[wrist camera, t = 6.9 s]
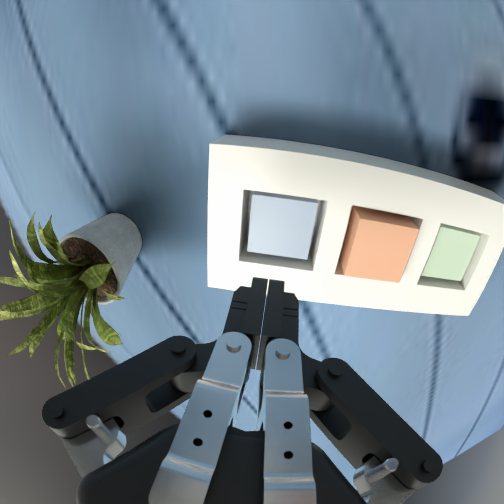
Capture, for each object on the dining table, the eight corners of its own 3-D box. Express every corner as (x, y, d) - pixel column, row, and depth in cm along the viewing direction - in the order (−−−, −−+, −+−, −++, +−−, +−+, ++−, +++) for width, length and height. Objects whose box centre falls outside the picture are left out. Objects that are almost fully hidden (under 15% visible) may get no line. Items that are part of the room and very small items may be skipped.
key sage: (412, 259, 22) (421, 275, 20) (428, 213, 20) (440, 226, 18) (450, 265, 22) (460, 281, 20) (467, 223, 20) (480, 236, 17)
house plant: (229, 240, 25) (161, 412, 11) (158, 316, 32) (98, 439, 18) (106, 141, 22) (-52, 225, 8) (64, 241, 28) (-29, 336, 14)
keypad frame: (219, 258, 26) (207, 286, 23) (224, 134, 20) (209, 143, 17) (453, 289, 24) (468, 315, 21) (492, 191, 19) (517, 209, 15)
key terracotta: (339, 257, 21) (343, 275, 19) (353, 204, 19) (359, 218, 17) (391, 264, 21) (399, 282, 19) (407, 214, 19) (419, 229, 17)
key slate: (251, 236, 23) (247, 251, 21) (256, 183, 21) (251, 194, 19) (306, 243, 23) (307, 259, 21) (315, 191, 21) (318, 203, 19)
